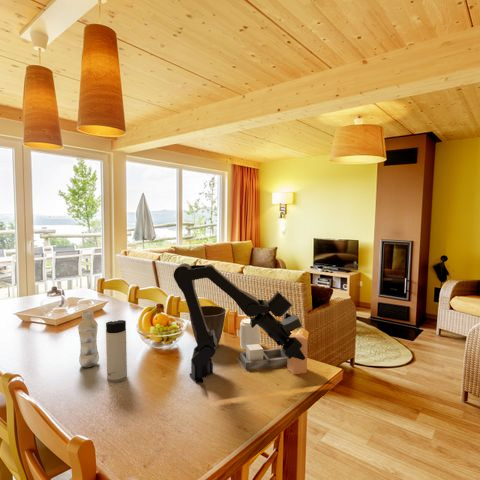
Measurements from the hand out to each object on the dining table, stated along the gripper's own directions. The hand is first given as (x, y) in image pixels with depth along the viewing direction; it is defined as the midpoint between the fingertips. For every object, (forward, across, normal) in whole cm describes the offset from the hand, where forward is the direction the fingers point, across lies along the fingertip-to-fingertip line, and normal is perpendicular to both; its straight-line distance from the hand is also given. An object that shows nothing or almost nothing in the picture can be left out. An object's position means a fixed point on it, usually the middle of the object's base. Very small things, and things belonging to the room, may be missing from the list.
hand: (300, 354), depth 115 cm
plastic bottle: (-48, +18, +57) cm, 77 cm away
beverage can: (-4, +23, +14) cm, 28 cm away
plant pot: (-17, +27, +26) cm, 41 cm away
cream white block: (-7, +8, +14) cm, 18 cm away
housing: (-3, +8, +12) cm, 15 cm away
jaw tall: (+4, 0, +6) cm, 7 cm away
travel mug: (-39, +7, +49) cm, 63 cm away
